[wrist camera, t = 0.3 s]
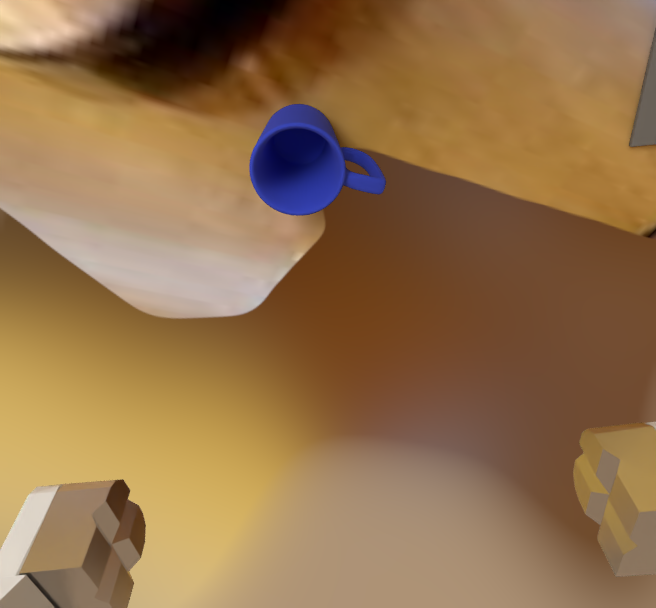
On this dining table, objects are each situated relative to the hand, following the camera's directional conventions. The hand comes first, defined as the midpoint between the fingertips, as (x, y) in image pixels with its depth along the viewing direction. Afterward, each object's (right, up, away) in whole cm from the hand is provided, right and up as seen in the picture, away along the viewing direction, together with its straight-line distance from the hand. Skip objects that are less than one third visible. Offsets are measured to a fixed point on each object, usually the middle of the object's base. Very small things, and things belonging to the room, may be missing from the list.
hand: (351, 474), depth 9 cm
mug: (-1, +20, +44) cm, 48 cm away
